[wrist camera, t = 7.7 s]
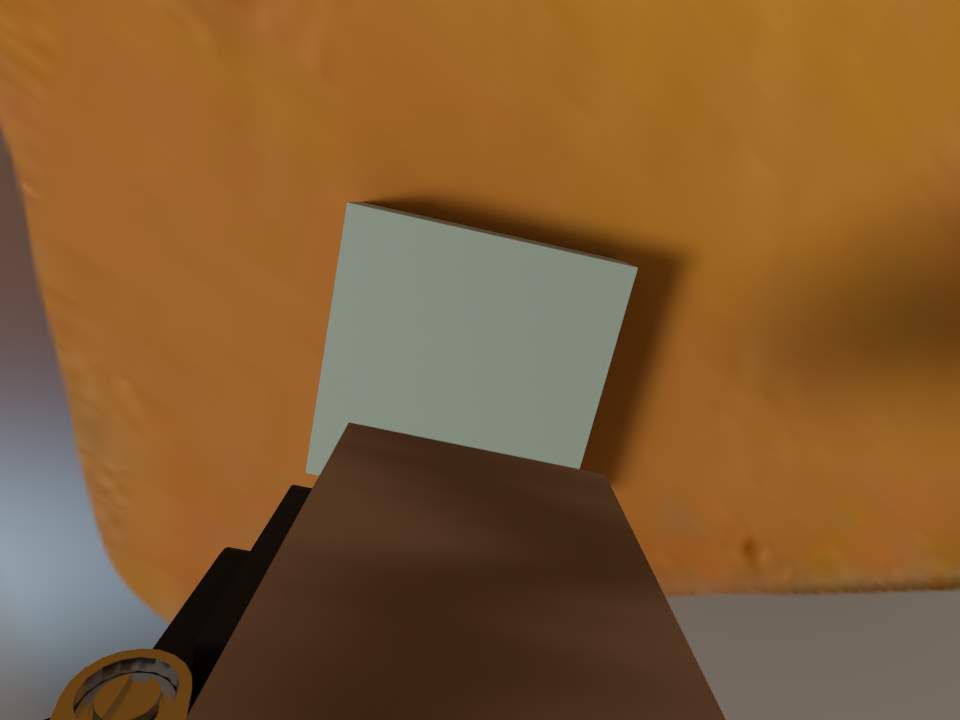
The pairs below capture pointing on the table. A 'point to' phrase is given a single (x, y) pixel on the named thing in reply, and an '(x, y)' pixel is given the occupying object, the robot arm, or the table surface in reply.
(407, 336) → the plate
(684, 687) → the walnut block
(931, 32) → the table surface
